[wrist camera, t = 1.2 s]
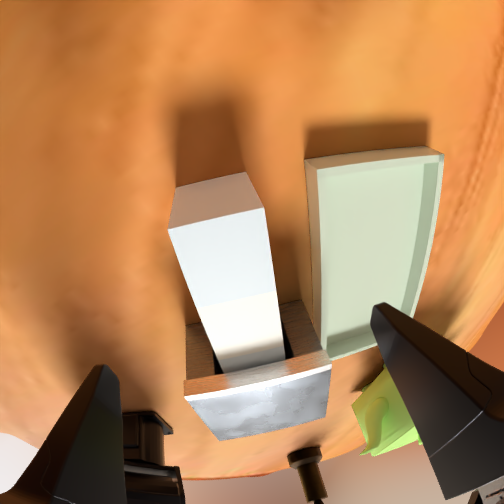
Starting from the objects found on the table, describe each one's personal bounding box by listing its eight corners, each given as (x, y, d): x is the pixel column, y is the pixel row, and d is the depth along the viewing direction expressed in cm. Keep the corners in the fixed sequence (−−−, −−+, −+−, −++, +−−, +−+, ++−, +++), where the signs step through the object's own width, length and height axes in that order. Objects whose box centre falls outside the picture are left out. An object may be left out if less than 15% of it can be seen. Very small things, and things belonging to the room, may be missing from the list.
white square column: (273, 332, 23) (288, 381, 19) (225, 342, 23) (233, 394, 19) (246, 171, 16) (263, 207, 12) (175, 187, 16) (167, 229, 12)
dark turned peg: (318, 452, 48) (341, 524, 33) (287, 460, 47) (307, 533, 32) (320, 443, 44) (346, 524, 29) (286, 452, 44) (308, 534, 29)
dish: (398, 319, 26) (407, 333, 24) (313, 347, 26) (320, 364, 24) (425, 145, 16) (444, 154, 15) (304, 159, 16) (316, 169, 14)
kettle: (329, 381, 30) (362, 466, 21) (434, 316, 28) (486, 389, 18) (360, 411, 38) (384, 469, 29) (437, 363, 36) (470, 418, 26)
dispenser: (304, 358, 26) (325, 416, 21) (212, 379, 26) (219, 440, 20) (301, 293, 21) (331, 363, 16) (183, 320, 21) (184, 396, 16)
